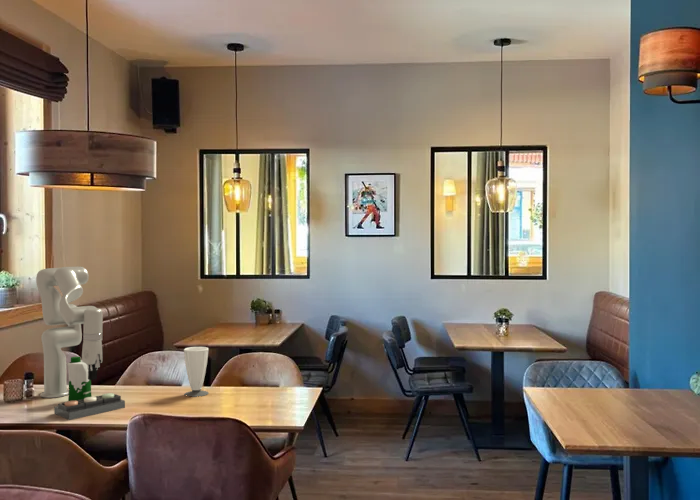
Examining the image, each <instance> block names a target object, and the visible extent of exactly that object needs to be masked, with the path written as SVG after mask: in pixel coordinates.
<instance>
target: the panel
mask: <svg viewBox="0 0 700 500" xmlns="http://www.w3.org/2000/svg"><path fill="white" fill-rule="evenodd" d="M113 394H114V397H111V398H106V399H104V398H102V395H103V394H101V395H96V396H95V397H96V398H97V400H96V401H92V402H87V403H86V402H84V399H81V400H76V401H78V404H77V405H72V406H68V407H67V406H65V402H62V403H58V404H57V405H55V406H53V407H54V409H53V411H54V412H53V413H54V415H57V416H59V417H60V418H63V419H66V420H68V421H72V420H75V419H80V418H85V417H89V416H94V415H98V414H99V415H100V414H103V413H106V412H111V411H115V410H121V409H124V408H126V401H125V399H122V395H119V394H117V393H113Z"/></svg>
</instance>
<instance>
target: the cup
mask: <svg viewBox="0 0 700 500" xmlns="http://www.w3.org/2000/svg"><path fill="white" fill-rule="evenodd" d="M183 355H184V361H185V362H184V363H185V369H186V374H187V379H188V384H189V387H190V389H191V391H187V392H185V393H183V395H184V396H185V395H187V396H192V397H191V398H199V396H201V397H204V396H207V395H209V394H210V393H209V391H206V390H202V388H203V385H204V381H205V376H206V373H207V365H208V358H209V347H208V346H207V347H206V346H189V347H185V348H184V349H183ZM187 396H186V397H187ZM197 396H198V397H197Z"/></svg>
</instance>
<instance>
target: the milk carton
mask: <svg viewBox="0 0 700 500" xmlns="http://www.w3.org/2000/svg"><path fill="white" fill-rule="evenodd" d="M66 368H67V370H68V390H69V394H68V398H67V399H68V400H67V401H76V400H81V399H84V398H87V397H93V396H92V380H89V379H88V366H87V364H86V363H84V362H82V357H81V356H72V357H70V361H69V362H66Z"/></svg>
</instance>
